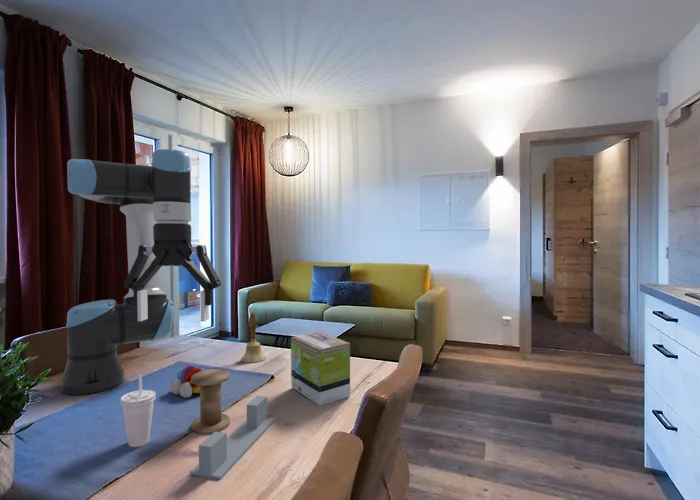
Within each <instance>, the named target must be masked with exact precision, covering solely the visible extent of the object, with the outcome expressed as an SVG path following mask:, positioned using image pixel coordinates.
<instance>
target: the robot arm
mask: <svg viewBox="0 0 700 500" xmlns="http://www.w3.org/2000/svg"><path fill="white" fill-rule="evenodd" d="M190 157H191V156H190V154H188V153H187V152H185V151H182V150H177V149H171V148H170V149H169V148H168V149H167V148H159V149H156V150H154V151H153V152H152V160H151V163H150V164H151V165H143V164H133V163H132V164H131V163H130V164H129V163H120V162H112V161H111V162H110V161H103V160H92V159H87V158H83V159H80V158H71V159H69V160H68V161H67V162H66V163H67V164H66V167H67V168H66V169H67V171H66V172H67V190H68V191H67V192H69V193H70V194H72V195H78V196H79V197H81V198H84V199H85V200H89V201H93V202H96V203H103V204H111V205H119V211H120V212H121V213H122V214H124V215H125V222H126V228H125V229H126V245H127V246H126V248H127V250H126V251H127V265H128V266H127V269H128V270H127V272H128V275H127V277H126V279H125V281H124V283H123V287H124V288H126V289H128V292H127V294H125V296H124V297H123V303H118V302H117V301H116V300H115V299H101V300H100V299H99V300H96V301H95V300H94V301H90V302H89V301H88V302H85V303H81V304H78V305H75V306H73V307H71V308H70V309H69V310H68V311H67V315H66V316H67V317H66V325H65V327H66V331H67V334H66V335H67V338H66V339H67V346H66V347H67V348H66V349H67V362H66V365H65V368H64V372H63V376H62V378H61V380H60V381H59V388H60V392H61V393H62V392H63V393H62V394H64V393H65V394H64V395H69V394H72V395H73V396H75V395H76V396H78V395H79V396H80V395H89V394H88V393H90V394H94V393H95V392H96V393H99V392H104V391H107V390H110V389H113V388H115V387H118V386H119V385H121V384H123V383H124V381H125V371H124V369H123V367H122V365H121V364H122V363H121V362H120V359H119V355H118V349H117V347H118V346H119V345H125V344H133V343H141V342H147V341H148V342H149V341H155V340H160V339H164V338H166V337H168V336H169V334H170V333H171V330H172V327H173V322H174V312H175V310H174V302H173V300H172V299H167V298H168V297H167V293H166V292H165V291H163V289H162V286H161V268H162V267H169V266H173V267H180V266H182V267H183V268H184V269H186V271H187V272H189V274H190V275H191V276H192V277H193V279H195V281H196V282H197V283H198V284H199V286H200V287H201V288H202V289H203V290H200V291H199V292H200V293H199V294H200V295H199V297H200V301H199V302H200V304H199V305H200V306H199V307H200V322H206V321H208V320H209V319H210V312H209V311H210V307H209V306H211V305H212V304H213V303H214V302H213V301H214V297H213V295H214V294H213V290H214V289H217V288H219V287H221V286H222V281H221V280H220V277H219V276H218V274H217V272H216V269H215V268H214V266H213V264H212V262H211V260H210V258H209V256H208V253H207V252H208V251H207V246H206V245H205V244H200V245H199V244H198V245H196V246H193V245H192V225H191V224H189V222H191V221H192V207H191V206H192V204H191V202H192V199H191V197H192V196H191V195H192V194H191V193H192V192H191V191H192V190H191V171H192V166H191V158H190ZM193 253H194V254H195V256H197V259H198V261H199V263H200V265H201V266H202V269H203V270H204V273H205V274H204V273H203V272H202V271H201V269H200V268H199V267H198V265H196V264H195V261H194V260H193V259H192V258H191V255H193ZM206 276H207V277H206ZM117 385H118V386H117ZM112 387H113V388H112Z"/></svg>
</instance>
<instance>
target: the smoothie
mask: <svg viewBox="0 0 700 500" xmlns="http://www.w3.org/2000/svg"><path fill="white" fill-rule="evenodd" d="M156 395H157V394H156V391H154V390H153V389H143V375H142V374H138V390H134V391H130V392H128V393H125V394H124V395H122V396H121V397H120V402H119V404H120V406H122V407H121V408H122V413H123V418H124V425H125V430H126V437H127V444H128V446H129V447H130V448H138V447H143V446H145V445H146V444H148V443H149V442H150V437H151V436H150V435H151V428H152V419H153V410H154V402H155V400H156V399H157V398H156V397H157V396H156Z"/></svg>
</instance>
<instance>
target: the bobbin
mask: <svg viewBox="0 0 700 500" xmlns="http://www.w3.org/2000/svg"><path fill="white" fill-rule="evenodd" d="M229 379H230V371H228V370H226V369H222V368H212V369H206V370H202V371H200V372H197V373H195V374H193V375H192V376H191V382H192V383H193V384H195V385H200V393H199V400H200V401H199V406H200V407H199V410H200V411H199V412H200V413H199V416H198V417H197V418H195V419H194V420H193V421H192V422H191V430H192V431H193V433H195V434H200V435H207V434H208V435H209V434H213V433H214V432H215V431H216V432H221V431H223V430H225V429H226V428H228V426H230V423H231V422H230V421H231V419H230V416H229V415H227V414H225V413H222V384H223V383H224V382H226V381H228V380H229Z"/></svg>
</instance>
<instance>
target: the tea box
mask: <svg viewBox="0 0 700 500" xmlns="http://www.w3.org/2000/svg"><path fill="white" fill-rule="evenodd" d="M290 363H291V364H290V371H291V374H290V375H291V379H290V381H291V389H294V390H295V391H297V392H299V393H300V394H301V395H303V396H305V398H307V399H309V400H310V401H312V403H315V404H316V405H317V406H319V407H322V406H325V405H328V404H331V403H335V402H338V401H340V400H341V401H342V400H344V399H346V397H347V398H349V397H350V396H351V343H350V342H347V341H345V340H343V339H340V338H338V337H334V336H332V335H330V334H328V333H324V332H322V331H315V332H311V333H306V334H301V335H296V336H290Z"/></svg>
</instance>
